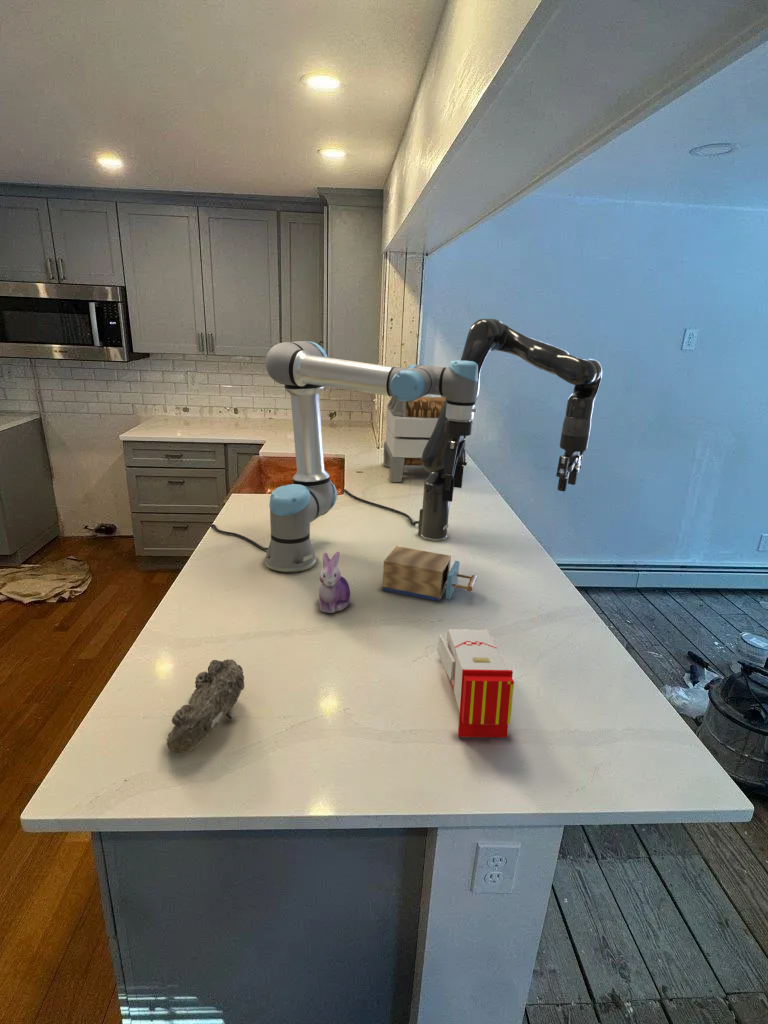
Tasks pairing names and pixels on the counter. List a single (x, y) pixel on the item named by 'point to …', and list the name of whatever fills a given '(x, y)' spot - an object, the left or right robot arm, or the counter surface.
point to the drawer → (455, 580)
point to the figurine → (332, 586)
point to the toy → (478, 682)
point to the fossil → (206, 705)
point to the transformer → (409, 432)
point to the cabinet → (415, 573)
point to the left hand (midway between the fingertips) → (452, 493)
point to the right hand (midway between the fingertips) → (566, 487)
